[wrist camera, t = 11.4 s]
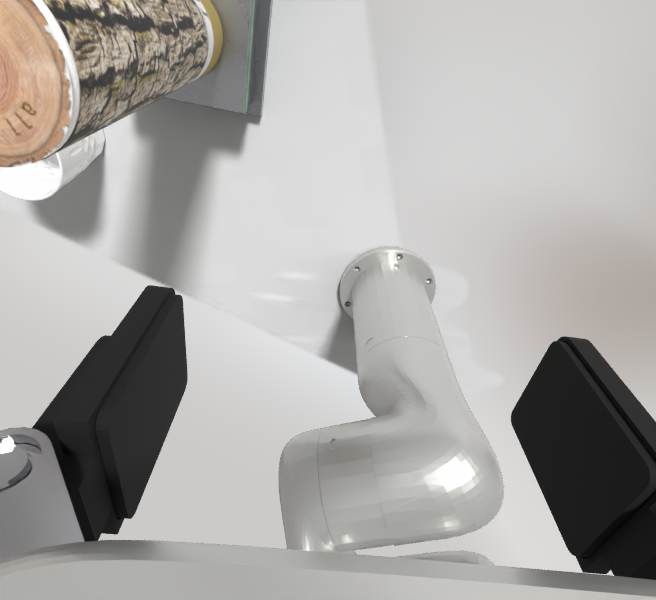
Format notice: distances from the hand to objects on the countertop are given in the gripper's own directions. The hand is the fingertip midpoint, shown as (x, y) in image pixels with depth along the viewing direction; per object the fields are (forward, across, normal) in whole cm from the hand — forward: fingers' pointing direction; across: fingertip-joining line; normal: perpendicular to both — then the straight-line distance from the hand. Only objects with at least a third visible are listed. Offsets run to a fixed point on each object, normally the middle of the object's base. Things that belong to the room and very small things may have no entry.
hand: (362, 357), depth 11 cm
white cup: (+39, +28, +6) cm, 48 cm away
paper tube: (+32, +14, -5) cm, 36 cm away
